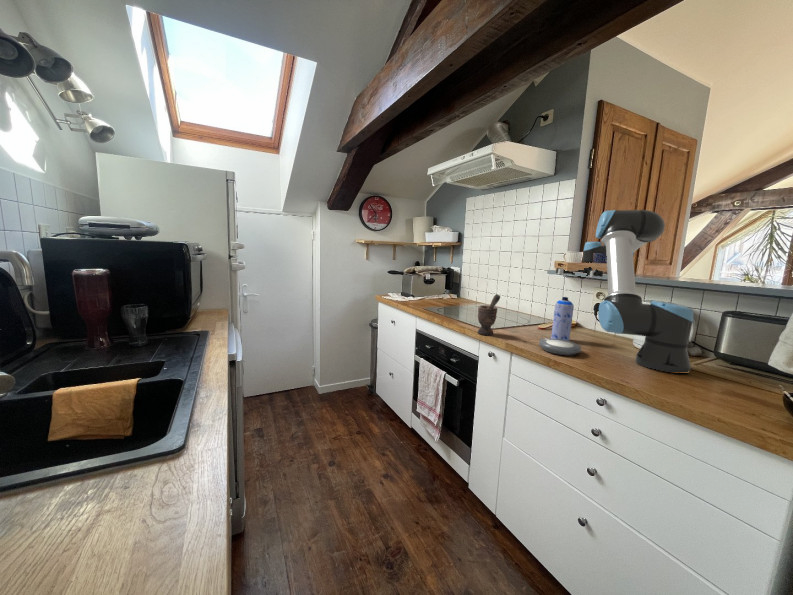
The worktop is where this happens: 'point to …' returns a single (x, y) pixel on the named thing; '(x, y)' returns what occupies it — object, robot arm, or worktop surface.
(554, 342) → the disc
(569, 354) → the turntable base
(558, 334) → the aerosol can
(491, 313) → the mortar and pestle
